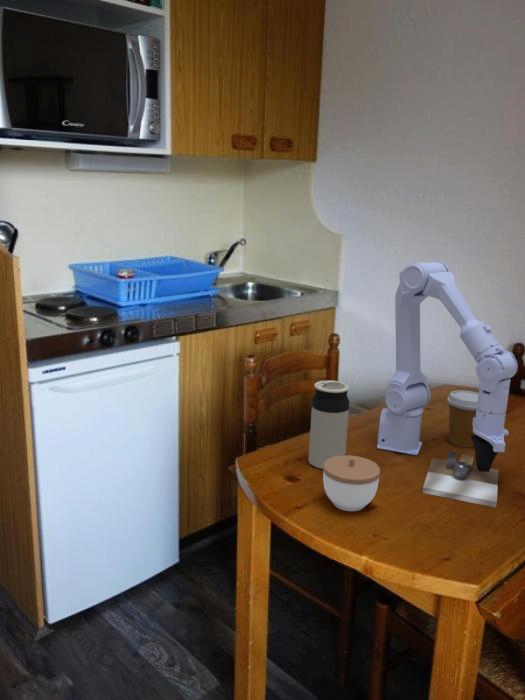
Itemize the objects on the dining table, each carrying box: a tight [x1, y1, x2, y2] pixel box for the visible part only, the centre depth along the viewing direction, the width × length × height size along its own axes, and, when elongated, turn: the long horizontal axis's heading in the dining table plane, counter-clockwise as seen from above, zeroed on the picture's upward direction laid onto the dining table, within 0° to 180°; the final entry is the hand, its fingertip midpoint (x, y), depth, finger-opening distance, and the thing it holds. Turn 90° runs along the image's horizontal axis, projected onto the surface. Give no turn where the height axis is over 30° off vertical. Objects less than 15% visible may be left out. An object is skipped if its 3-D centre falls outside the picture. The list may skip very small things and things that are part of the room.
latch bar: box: [453, 453, 474, 479], centre depth 131 cm, size 9×3×3 cm, turn 151°
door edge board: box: [422, 457, 500, 508], centre depth 129 cm, size 14×16×1 cm
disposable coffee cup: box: [447, 390, 479, 448], centre depth 150 cm, size 10×10×12 cm
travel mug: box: [308, 379, 350, 470], centre depth 134 cm, size 8×8×18 cm
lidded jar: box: [322, 454, 381, 512], centre depth 118 cm, size 11×11×9 cm
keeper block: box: [446, 450, 457, 470], centre depth 135 cm, size 2×4×2 cm, turn 158°
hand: (482, 470), depth 131 cm, fingers closed
